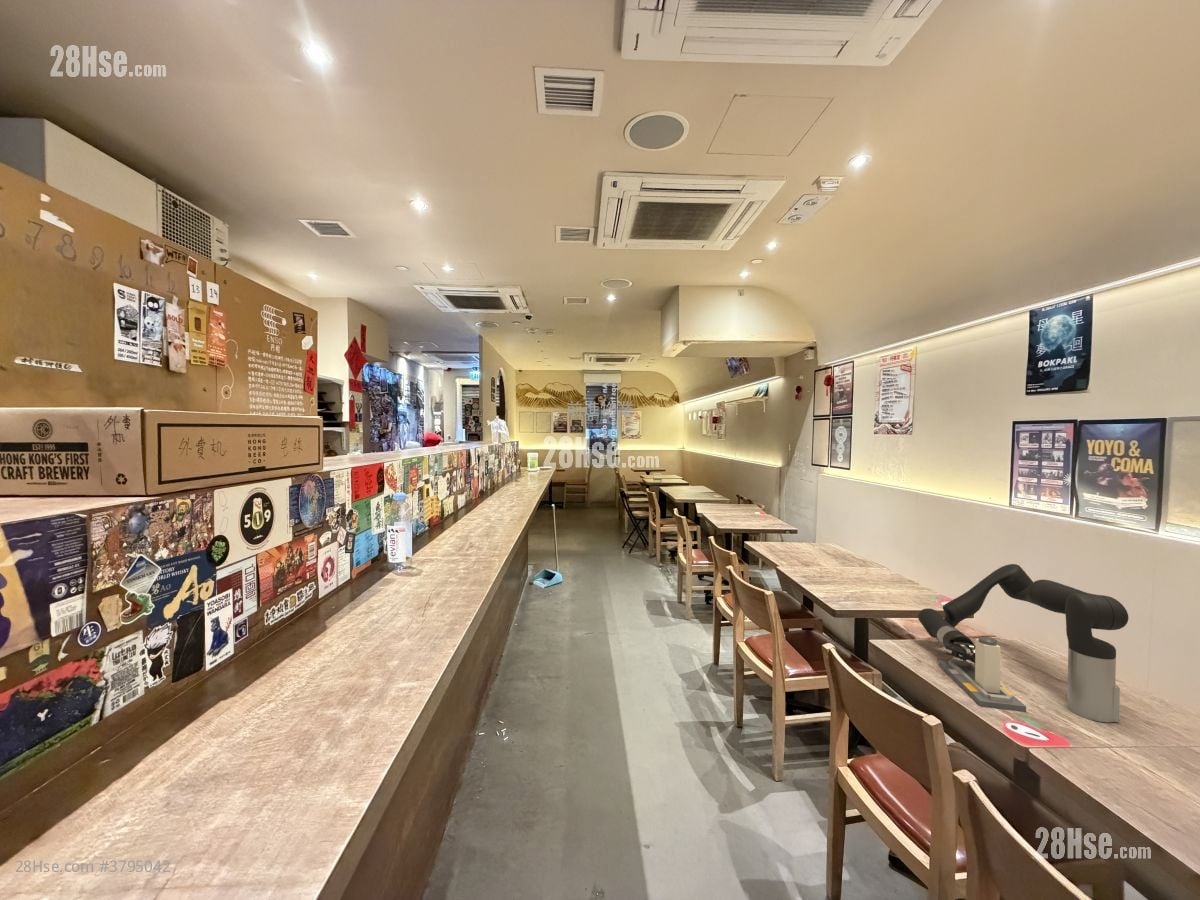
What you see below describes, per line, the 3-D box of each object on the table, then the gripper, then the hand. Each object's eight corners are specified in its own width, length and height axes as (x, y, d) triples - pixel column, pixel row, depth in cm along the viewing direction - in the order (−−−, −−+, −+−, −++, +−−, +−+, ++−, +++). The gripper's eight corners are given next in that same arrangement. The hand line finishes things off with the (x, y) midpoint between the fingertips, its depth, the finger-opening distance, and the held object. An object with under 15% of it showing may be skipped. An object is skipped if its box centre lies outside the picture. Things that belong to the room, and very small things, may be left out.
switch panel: (938, 664, 159) (938, 656, 159) (976, 668, 157) (976, 660, 157) (980, 706, 134) (980, 697, 134) (1026, 711, 131) (1026, 702, 131)
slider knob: (974, 683, 143) (974, 635, 143) (991, 685, 142) (991, 636, 142) (983, 691, 139) (983, 641, 138) (1000, 693, 138) (1001, 643, 137)
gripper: (977, 654, 158) (1008, 679, 141) (932, 649, 161) (957, 673, 144) (977, 632, 158) (1008, 654, 141) (932, 628, 161) (957, 649, 144)
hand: (982, 664), depth 143 cm, fingers closed
